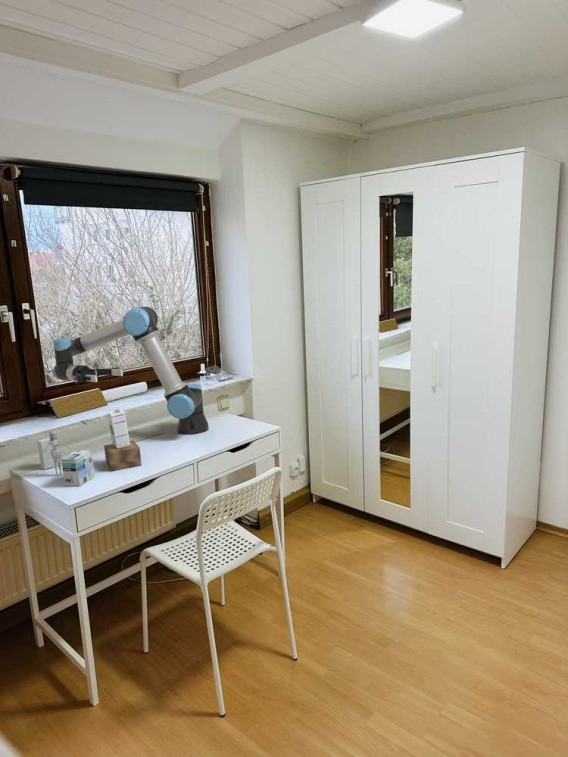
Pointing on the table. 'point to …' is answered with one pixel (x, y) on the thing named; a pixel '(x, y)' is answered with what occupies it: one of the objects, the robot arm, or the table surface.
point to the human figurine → (55, 450)
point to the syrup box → (118, 428)
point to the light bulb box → (78, 468)
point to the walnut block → (122, 456)
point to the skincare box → (45, 454)
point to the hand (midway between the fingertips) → (109, 375)
